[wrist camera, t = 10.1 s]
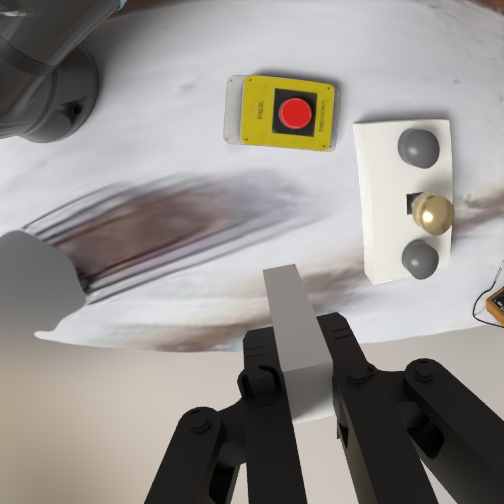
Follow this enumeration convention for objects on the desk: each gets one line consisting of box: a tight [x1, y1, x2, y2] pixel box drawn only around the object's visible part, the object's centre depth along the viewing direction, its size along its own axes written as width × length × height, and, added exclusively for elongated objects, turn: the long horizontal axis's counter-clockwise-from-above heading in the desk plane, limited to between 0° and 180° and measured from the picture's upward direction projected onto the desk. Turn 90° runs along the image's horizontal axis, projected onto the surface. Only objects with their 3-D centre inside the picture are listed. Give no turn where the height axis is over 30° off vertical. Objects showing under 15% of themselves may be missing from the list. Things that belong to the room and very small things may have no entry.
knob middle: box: [407, 192, 454, 236], centre depth 38 cm, size 5×5×7 cm
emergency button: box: [223, 75, 340, 152], centre depth 37 cm, size 9×4×15 cm
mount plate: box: [353, 119, 453, 285], centre depth 42 cm, size 23×14×4 cm, turn 10°
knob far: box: [402, 240, 439, 280], centre depth 44 cm, size 5×5×7 cm
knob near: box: [398, 129, 440, 169], centre depth 37 cm, size 5×5×7 cm
